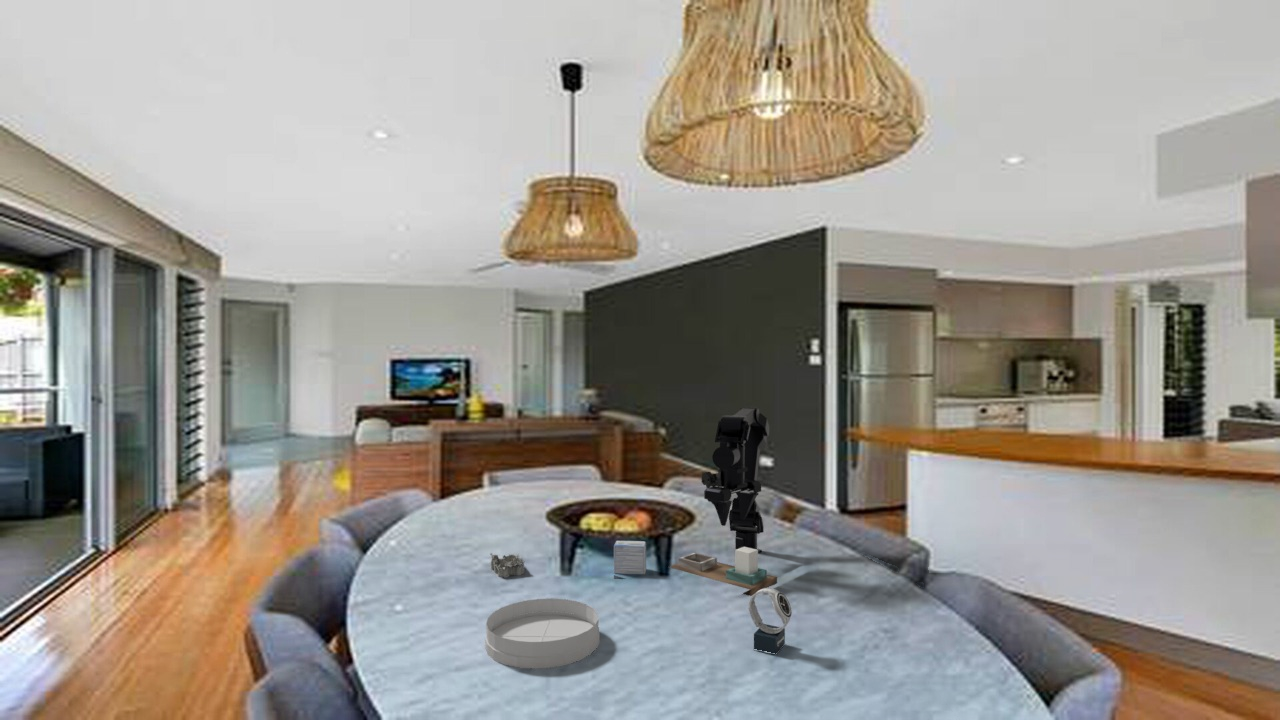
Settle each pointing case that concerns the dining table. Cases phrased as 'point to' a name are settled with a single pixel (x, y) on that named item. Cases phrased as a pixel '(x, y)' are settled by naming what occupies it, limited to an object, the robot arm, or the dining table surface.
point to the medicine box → (629, 557)
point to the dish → (542, 633)
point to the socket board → (724, 572)
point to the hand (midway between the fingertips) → (733, 522)
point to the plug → (746, 560)
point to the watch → (770, 635)
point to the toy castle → (507, 565)
